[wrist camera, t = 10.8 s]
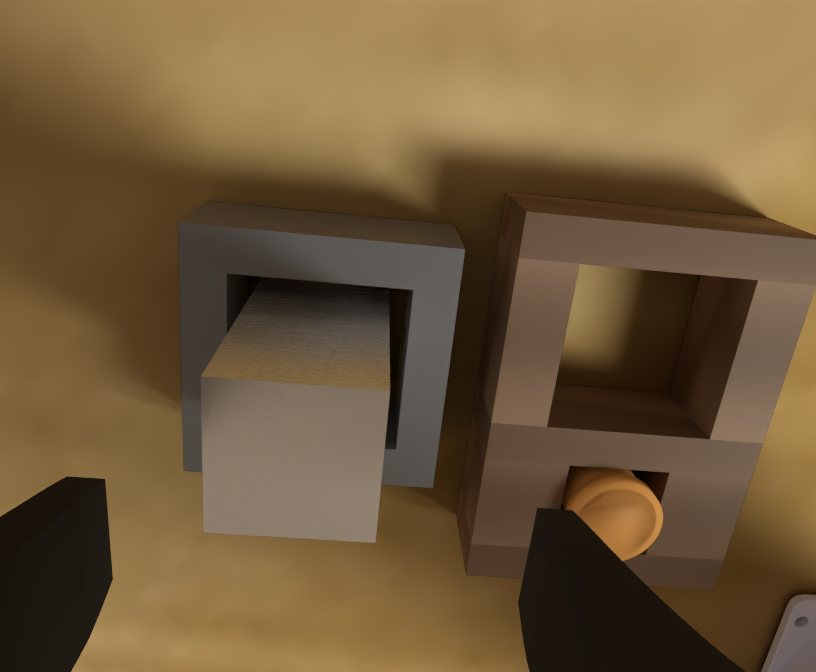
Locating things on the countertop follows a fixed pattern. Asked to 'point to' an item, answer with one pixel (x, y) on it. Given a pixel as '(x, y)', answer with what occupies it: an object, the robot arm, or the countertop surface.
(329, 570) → the countertop surface
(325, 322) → the steel peg
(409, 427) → the grey square frame
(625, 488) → the pin
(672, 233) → the socket block
